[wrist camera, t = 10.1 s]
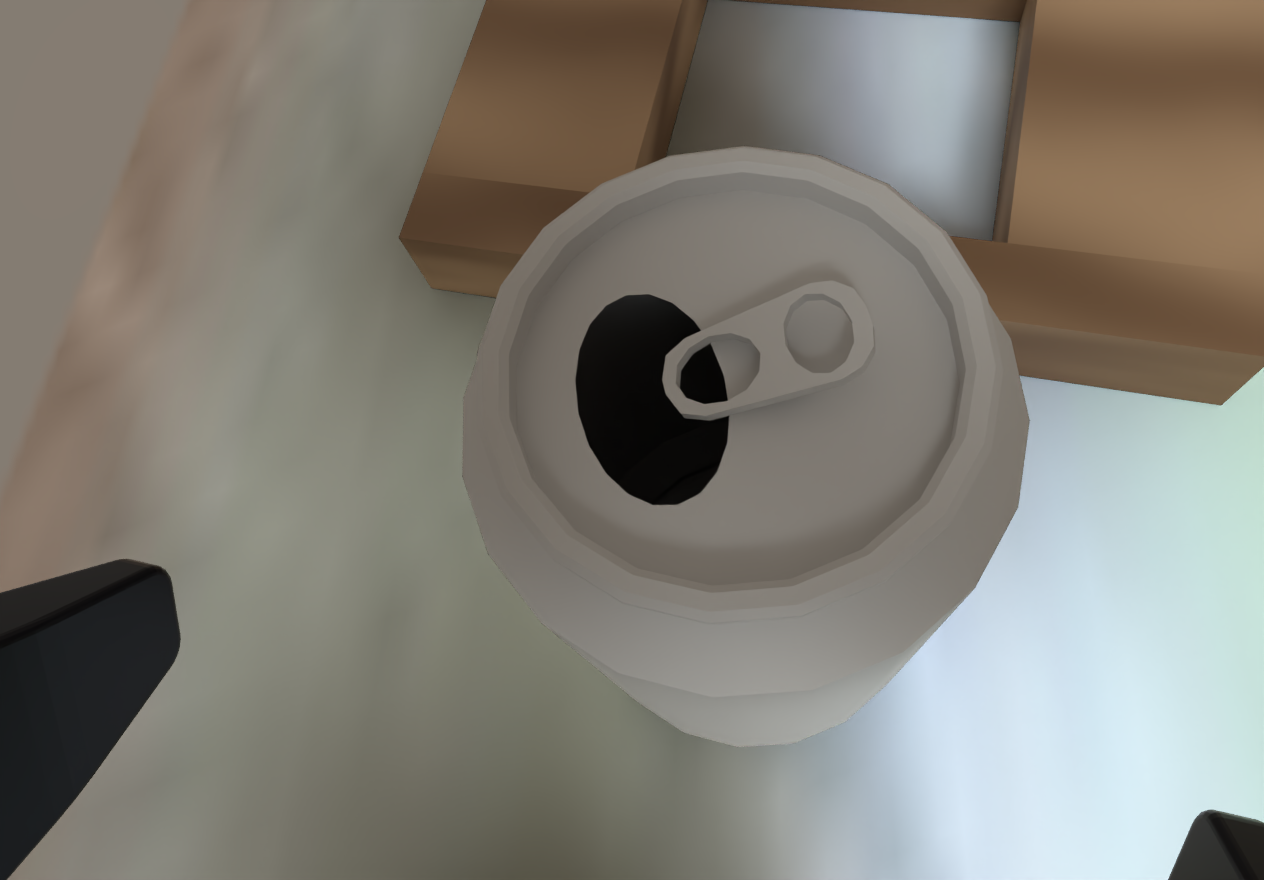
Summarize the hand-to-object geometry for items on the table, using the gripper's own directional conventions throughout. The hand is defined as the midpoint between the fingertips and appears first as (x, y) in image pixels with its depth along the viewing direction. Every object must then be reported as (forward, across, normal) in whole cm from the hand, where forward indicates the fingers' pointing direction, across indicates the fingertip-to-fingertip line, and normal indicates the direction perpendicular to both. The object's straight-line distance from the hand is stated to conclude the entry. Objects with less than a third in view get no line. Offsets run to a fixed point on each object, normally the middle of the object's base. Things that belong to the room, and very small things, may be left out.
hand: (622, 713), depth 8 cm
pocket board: (+22, 0, -2) cm, 22 cm away
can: (+13, 0, +7) cm, 14 cm away
